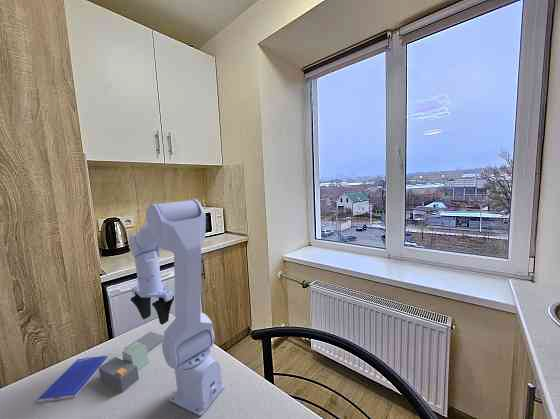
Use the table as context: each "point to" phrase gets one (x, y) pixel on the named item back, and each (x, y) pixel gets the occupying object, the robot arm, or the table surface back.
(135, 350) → the block
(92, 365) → the blue book
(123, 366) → the power strip
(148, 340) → the mat
